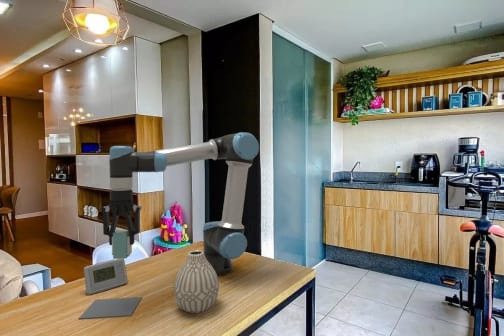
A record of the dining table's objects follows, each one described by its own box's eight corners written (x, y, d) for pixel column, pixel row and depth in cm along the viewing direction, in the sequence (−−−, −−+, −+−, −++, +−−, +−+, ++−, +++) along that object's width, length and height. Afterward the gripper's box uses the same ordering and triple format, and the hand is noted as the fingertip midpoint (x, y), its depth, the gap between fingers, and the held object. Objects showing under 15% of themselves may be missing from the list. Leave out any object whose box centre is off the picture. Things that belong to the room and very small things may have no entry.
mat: (141, 298, 114) (141, 297, 114) (131, 316, 101) (130, 315, 101) (95, 300, 113) (95, 299, 113) (78, 319, 100) (78, 318, 100)
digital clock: (85, 297, 116) (84, 270, 116) (83, 288, 124) (83, 263, 123) (129, 286, 125) (128, 261, 124) (125, 279, 132) (125, 255, 132)
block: (130, 254, 110) (130, 229, 109) (126, 258, 105) (126, 232, 105) (117, 254, 109) (117, 229, 109) (113, 258, 105) (113, 232, 104)
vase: (181, 296, 115) (180, 245, 114) (222, 296, 115) (221, 245, 114) (168, 319, 99) (166, 260, 98) (215, 319, 99) (214, 260, 98)
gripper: (149, 188, 111) (149, 250, 112) (100, 188, 109) (101, 251, 110) (143, 190, 103) (144, 256, 104) (91, 190, 102) (92, 257, 103)
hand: (122, 253), depth 107 cm, fingers closed on block, 4 cm apart
